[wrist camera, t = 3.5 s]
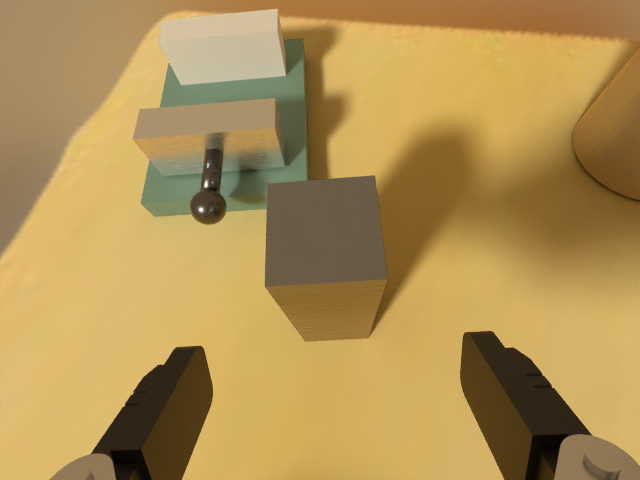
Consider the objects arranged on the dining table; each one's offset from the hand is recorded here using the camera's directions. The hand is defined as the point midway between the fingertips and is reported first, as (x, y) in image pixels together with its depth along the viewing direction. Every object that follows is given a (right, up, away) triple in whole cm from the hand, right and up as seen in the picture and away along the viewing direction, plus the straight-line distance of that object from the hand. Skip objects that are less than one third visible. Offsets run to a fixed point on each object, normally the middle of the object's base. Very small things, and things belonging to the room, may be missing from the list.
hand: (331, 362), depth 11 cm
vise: (-7, +13, +19) cm, 25 cm away
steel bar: (+1, -1, +12) cm, 12 cm away
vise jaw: (-7, +7, +14) cm, 18 cm away
